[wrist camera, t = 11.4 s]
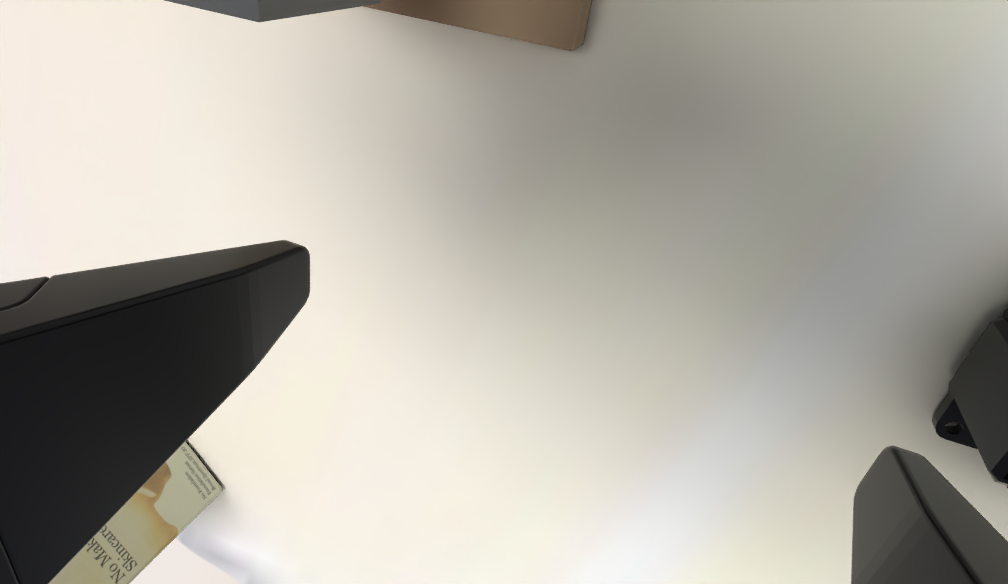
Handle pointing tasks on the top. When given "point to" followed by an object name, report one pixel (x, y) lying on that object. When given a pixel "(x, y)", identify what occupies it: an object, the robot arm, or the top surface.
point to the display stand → (505, 17)
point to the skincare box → (145, 523)
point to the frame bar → (273, 7)
